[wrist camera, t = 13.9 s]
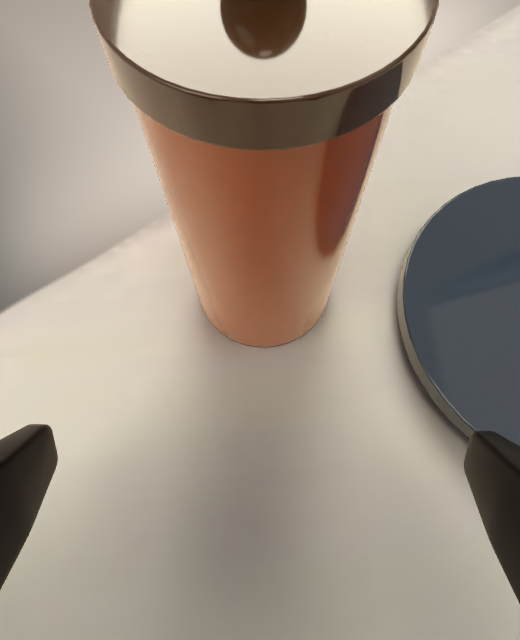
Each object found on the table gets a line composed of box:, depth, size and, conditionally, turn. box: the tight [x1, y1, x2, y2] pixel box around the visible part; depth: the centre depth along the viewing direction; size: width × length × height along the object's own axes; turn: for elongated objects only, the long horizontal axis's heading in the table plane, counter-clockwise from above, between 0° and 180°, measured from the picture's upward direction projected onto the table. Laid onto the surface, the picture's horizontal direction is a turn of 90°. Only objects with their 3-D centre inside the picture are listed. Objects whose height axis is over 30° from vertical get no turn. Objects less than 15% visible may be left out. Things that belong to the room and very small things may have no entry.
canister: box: [89, 0, 439, 347], centre depth 12 cm, size 6×6×13 cm
